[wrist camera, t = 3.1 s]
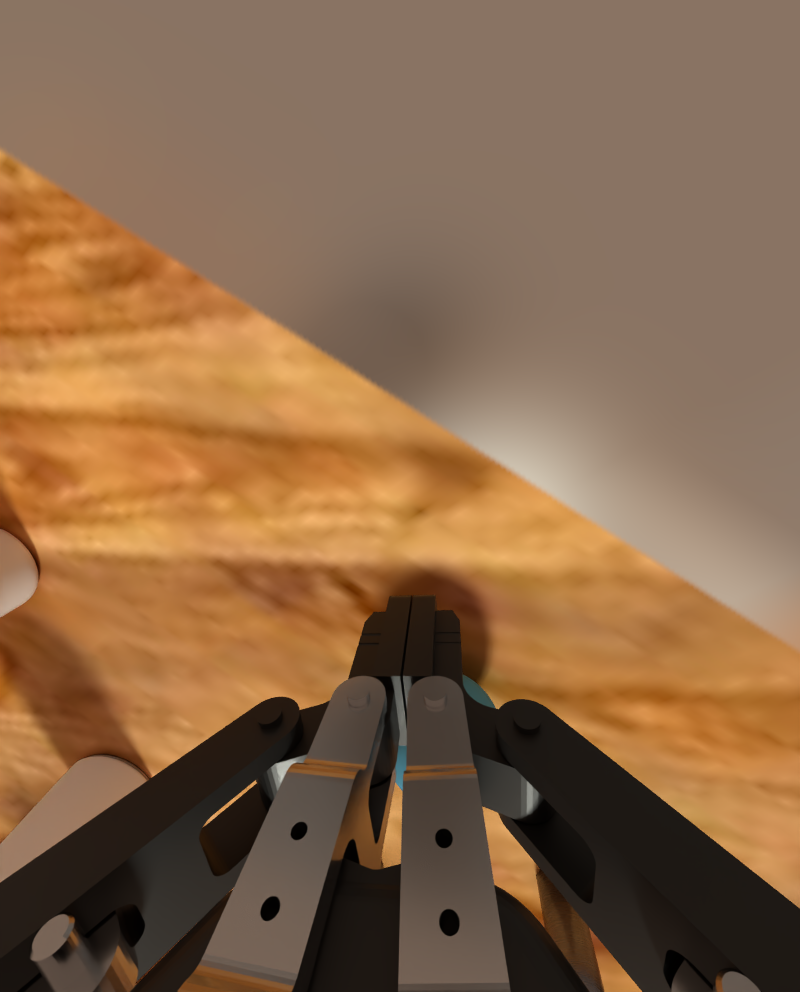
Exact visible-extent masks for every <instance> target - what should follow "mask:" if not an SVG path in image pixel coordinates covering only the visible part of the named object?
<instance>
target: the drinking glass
mask: <svg viewBox="0 0 800 992" xmlns="http://www.w3.org/2000/svg"><path fill="white" fill-rule="evenodd" d="M38 578H39V577H38V569H37V566H36V563H35V561H34V558H33V557H32V555H31V553H30V552H29V551H28V549H27V548H26V547H25V546H24V545H23V544H22V543H21V542H20V541H19V540H18V539H17V538H16V537H14V536H13V535H12V534H10V533H8V532H7V531H5V530H3V529H1V528H0V617H2V616H4V615H6V614H7V613H9V612H11V611H12V610H14V609H16V608H17V607H19V606H21V605H22V604H24V603H25V602H26V601H28V600H29V599H30V598H31V597H32V595H33V594H34V592H35V590H36V588H37V585H38Z"/></svg>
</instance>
